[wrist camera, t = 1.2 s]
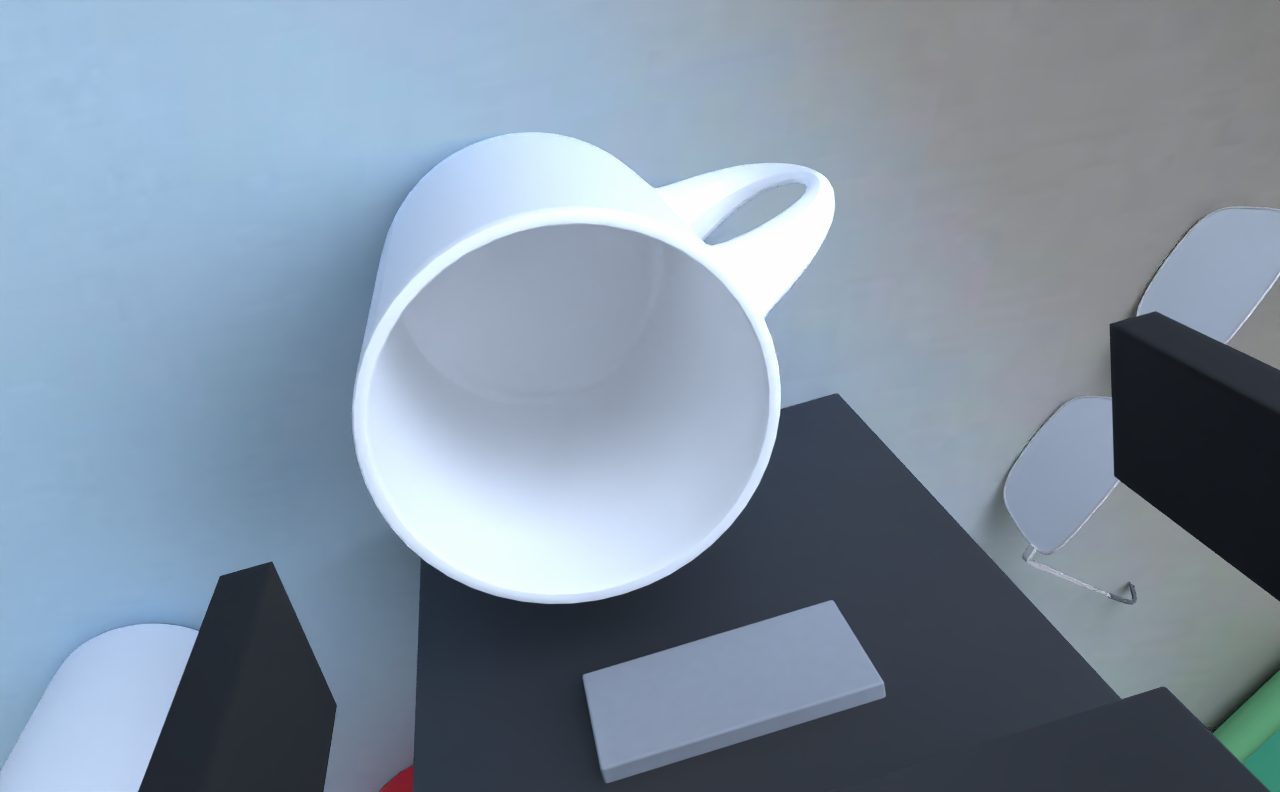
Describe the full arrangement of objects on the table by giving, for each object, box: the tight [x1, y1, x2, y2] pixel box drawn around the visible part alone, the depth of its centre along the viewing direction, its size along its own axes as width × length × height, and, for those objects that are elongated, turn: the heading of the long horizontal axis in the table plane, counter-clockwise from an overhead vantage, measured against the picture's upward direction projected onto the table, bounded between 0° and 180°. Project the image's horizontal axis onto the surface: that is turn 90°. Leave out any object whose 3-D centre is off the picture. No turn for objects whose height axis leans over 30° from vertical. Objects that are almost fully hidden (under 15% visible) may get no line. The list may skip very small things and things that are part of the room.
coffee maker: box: [413, 394, 1271, 792], centre depth 23 cm, size 8×14×22 cm, turn 103°
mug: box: [352, 132, 835, 604], centre depth 25 cm, size 9×12×11 cm
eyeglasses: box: [1003, 206, 1280, 604], centre depth 34 cm, size 14×8×4 cm, turn 149°
